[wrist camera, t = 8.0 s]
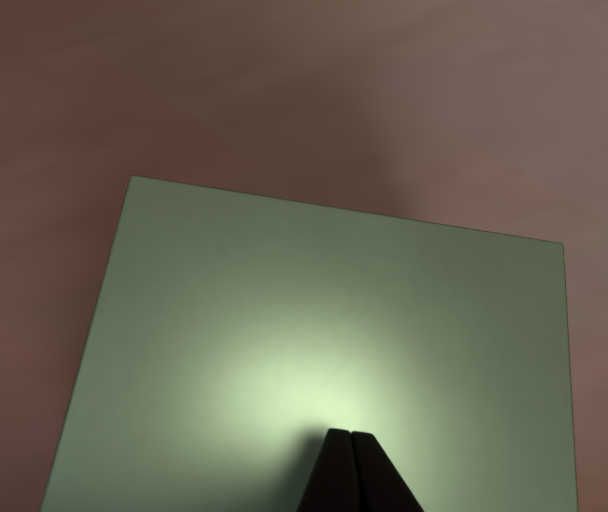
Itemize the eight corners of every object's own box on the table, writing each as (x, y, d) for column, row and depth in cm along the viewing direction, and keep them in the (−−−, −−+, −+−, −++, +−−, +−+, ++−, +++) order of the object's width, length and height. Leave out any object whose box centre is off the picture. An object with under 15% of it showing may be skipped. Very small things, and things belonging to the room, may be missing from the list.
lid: (136, 187, 13) (129, 173, 12) (547, 251, 14) (565, 242, 13) (-4, 712, 9) (-26, 737, 9) (570, 766, 10) (596, 795, 9)
